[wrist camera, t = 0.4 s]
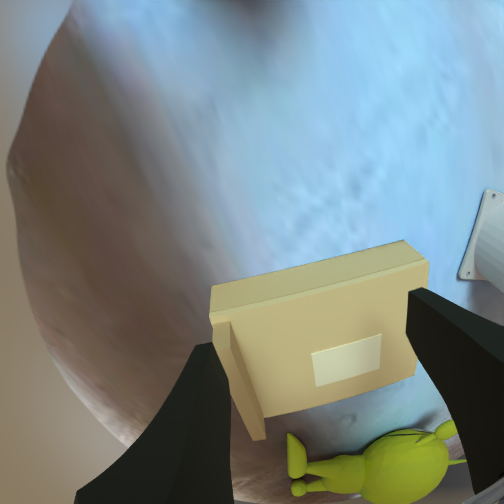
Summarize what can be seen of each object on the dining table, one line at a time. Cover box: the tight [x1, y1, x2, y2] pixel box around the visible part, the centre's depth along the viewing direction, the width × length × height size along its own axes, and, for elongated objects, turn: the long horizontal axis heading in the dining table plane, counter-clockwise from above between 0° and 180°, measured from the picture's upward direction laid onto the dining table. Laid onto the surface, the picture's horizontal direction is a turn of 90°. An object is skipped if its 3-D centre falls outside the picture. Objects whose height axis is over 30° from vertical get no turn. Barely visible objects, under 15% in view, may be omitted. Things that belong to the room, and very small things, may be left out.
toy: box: [287, 419, 467, 504], centre depth 29 cm, size 20×10×30 cm
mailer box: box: [210, 240, 425, 313], centre depth 22 cm, size 14×11×3 cm
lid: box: [209, 259, 429, 441], centre depth 19 cm, size 14×11×3 cm
